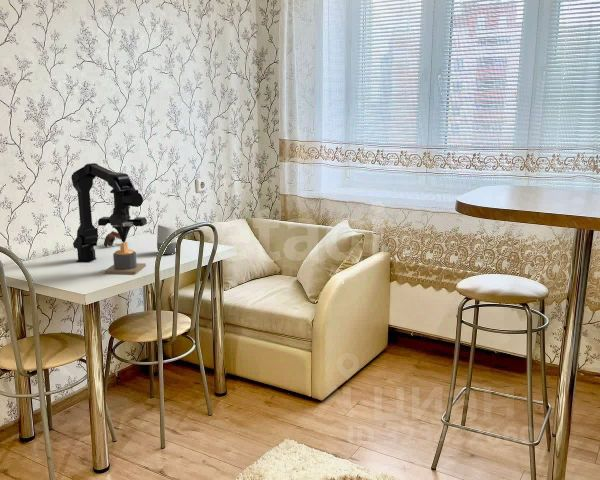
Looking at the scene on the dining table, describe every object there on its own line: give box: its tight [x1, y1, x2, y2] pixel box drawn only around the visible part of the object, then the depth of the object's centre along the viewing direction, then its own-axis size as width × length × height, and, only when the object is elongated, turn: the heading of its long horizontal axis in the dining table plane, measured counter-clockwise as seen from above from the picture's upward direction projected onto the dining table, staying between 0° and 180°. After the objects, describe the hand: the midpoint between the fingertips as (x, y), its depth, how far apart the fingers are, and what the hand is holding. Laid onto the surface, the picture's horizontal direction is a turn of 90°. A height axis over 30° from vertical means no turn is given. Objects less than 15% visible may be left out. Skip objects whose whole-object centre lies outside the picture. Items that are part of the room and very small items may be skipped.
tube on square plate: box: [103, 250, 147, 275], centre depth 248 cm, size 13×13×7 cm
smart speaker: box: [156, 223, 178, 255], centre depth 276 cm, size 10×9×14 cm
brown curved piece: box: [103, 230, 121, 248], centre depth 292 cm, size 12×10×8 cm
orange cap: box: [114, 241, 134, 255], centre depth 247 cm, size 7×7×6 cm
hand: (123, 241), depth 247 cm, fingers closed
